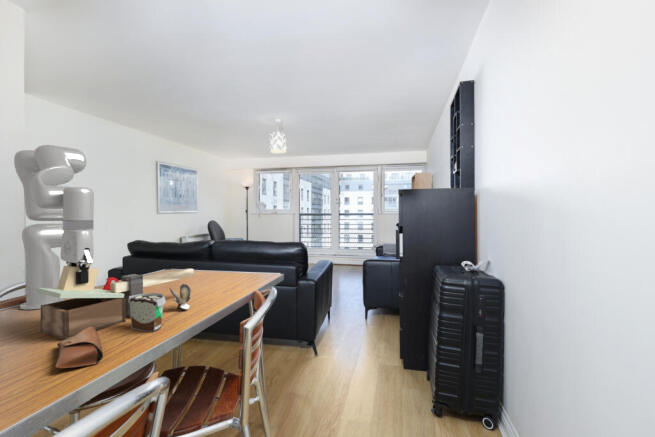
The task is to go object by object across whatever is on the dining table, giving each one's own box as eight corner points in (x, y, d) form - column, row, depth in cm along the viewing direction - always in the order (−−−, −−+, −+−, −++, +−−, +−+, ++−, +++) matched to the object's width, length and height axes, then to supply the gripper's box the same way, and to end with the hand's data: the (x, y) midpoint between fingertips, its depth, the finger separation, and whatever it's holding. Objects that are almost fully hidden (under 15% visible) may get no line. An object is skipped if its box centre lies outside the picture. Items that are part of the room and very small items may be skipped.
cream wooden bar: (110, 292, 96) (110, 283, 96) (188, 275, 123) (188, 268, 123) (115, 293, 95) (115, 284, 95) (193, 276, 122) (193, 269, 122)
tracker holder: (105, 306, 112) (105, 280, 112) (96, 305, 113) (96, 279, 113) (132, 297, 124) (132, 274, 124) (124, 296, 125) (123, 273, 125)
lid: (35, 291, 87) (43, 264, 89) (98, 292, 102) (104, 268, 103) (59, 298, 80) (68, 268, 82) (123, 297, 95) (129, 272, 97)
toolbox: (40, 331, 87) (40, 285, 87) (121, 310, 107) (121, 272, 107) (64, 340, 81) (64, 290, 81) (145, 315, 101) (145, 275, 101)
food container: (175, 326, 92) (175, 294, 92) (157, 333, 86) (157, 299, 86) (146, 321, 96) (146, 291, 96) (128, 328, 90) (127, 296, 90)
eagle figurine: (178, 306, 112) (178, 283, 111) (195, 307, 111) (195, 283, 111) (165, 313, 104) (165, 288, 104) (184, 314, 103) (184, 288, 103)
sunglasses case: (54, 342, 76) (74, 318, 79) (82, 352, 80) (100, 328, 83) (54, 369, 63) (78, 339, 66) (87, 378, 67) (109, 350, 70)
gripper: (50, 224, 93) (49, 281, 94) (78, 228, 86) (77, 289, 87) (78, 224, 100) (77, 276, 101) (106, 227, 93) (105, 283, 93)
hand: (77, 281), depth 94 cm, fingers closed on lid, 4 cm apart
